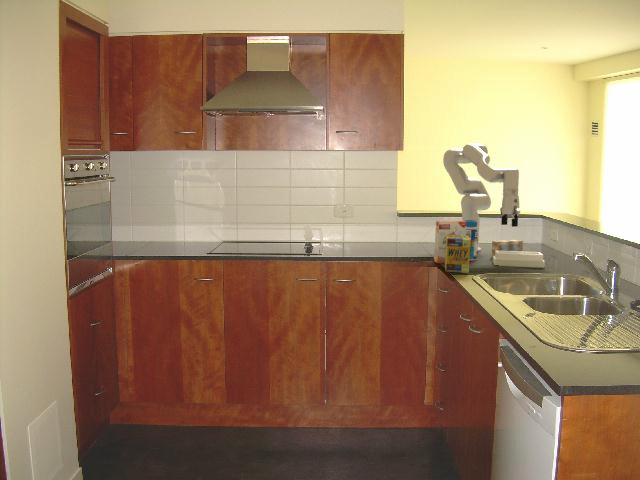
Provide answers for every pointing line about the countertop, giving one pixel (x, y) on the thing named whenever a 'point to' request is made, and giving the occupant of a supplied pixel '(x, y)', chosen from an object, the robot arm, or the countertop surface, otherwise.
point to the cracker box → (440, 236)
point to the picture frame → (507, 246)
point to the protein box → (457, 253)
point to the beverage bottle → (472, 238)
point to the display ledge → (519, 259)
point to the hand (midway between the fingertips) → (509, 225)
